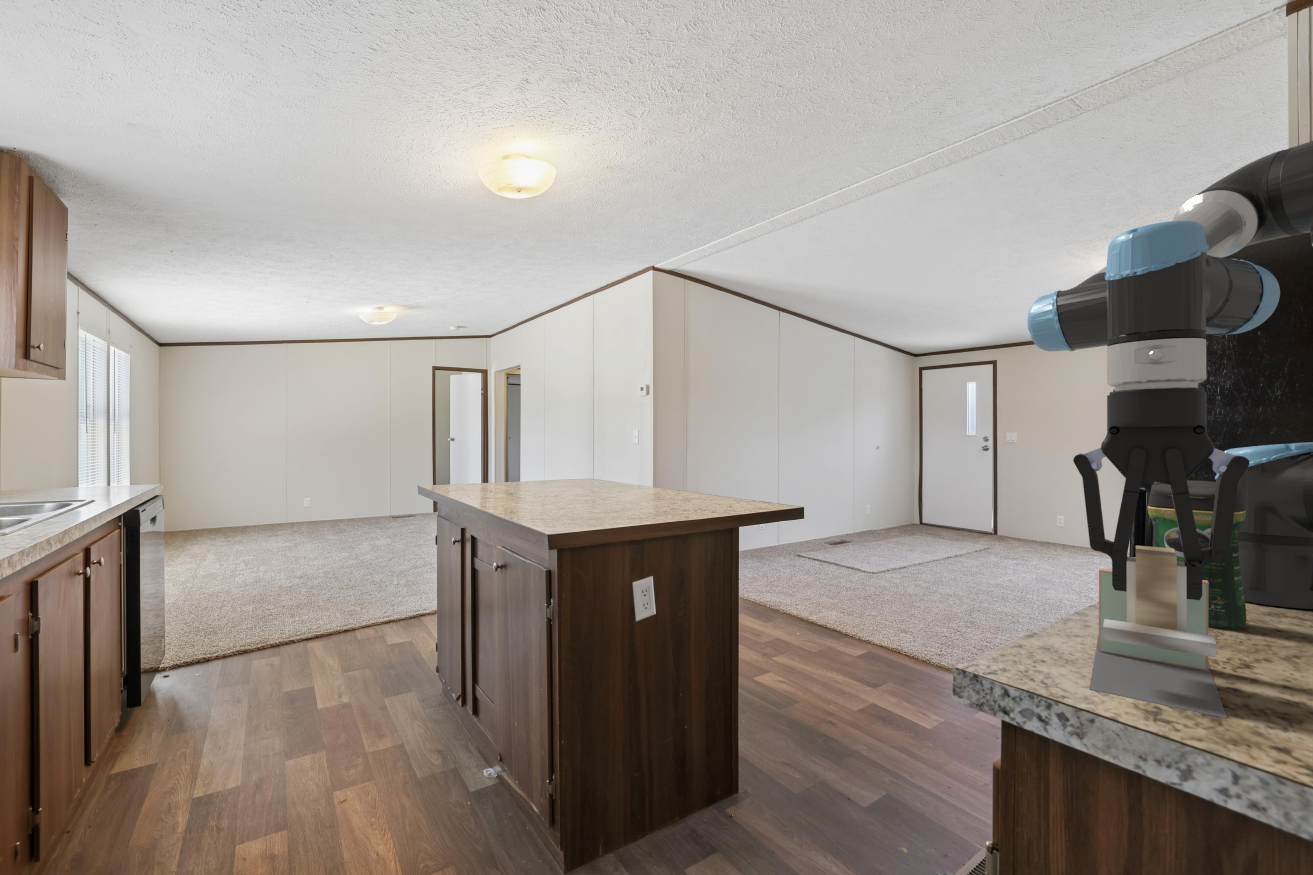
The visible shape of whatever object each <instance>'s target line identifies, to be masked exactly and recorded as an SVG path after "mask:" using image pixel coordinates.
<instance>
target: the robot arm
mask: <svg viewBox="0 0 1313 875" xmlns="http://www.w3.org/2000/svg"><path fill="white" fill-rule="evenodd" d="M1309 233H1310V238H1311V239H1310V240H1311V246H1312V247H1313V140H1311V141H1308V142H1304V143H1302V144H1299V145H1295V146H1291V147H1290V148H1286V149H1281V150H1278V151H1275V152H1273V153H1270V154H1267V155H1265V156H1262V157H1259V158H1258V159H1256V160H1254V161H1251V162H1249V163H1248V164H1246V165H1243V166H1241V167H1239V168H1238V169H1236V170H1235V171H1233V172H1231V173H1229V174H1228V175H1226V176H1224V177H1222V178H1220V179H1219V180H1217V181H1216V182H1214V183H1212V184H1211V185H1209V186H1208V187H1206V188H1205V189H1202V190H1201V191H1200V192H1198V193H1197V194H1195V195H1194V196H1193V197H1191V198H1189V199H1188V200H1187V201H1185V203H1183V204H1182V205H1181V206H1180V208H1178V210H1177V211H1176V213H1175V214H1174V217H1173V219H1172V220H1170V221H1163V222H1162V221H1161V222H1156V223H1150V224H1146V225H1142V226H1138V227H1135V228H1132V229H1129V230H1126V231H1123V232H1122V233H1120V234H1118V235H1116V236H1115V237H1114V238H1112V240H1111V241H1110V242H1109V244H1108V248H1107V259H1106V265H1105V266H1104V267H1102V268H1101V269H1100V270H1098V271H1097V272H1095V273H1094V274H1093V275H1091V276H1089V278H1087V279H1085V280H1083V281H1082V282H1081V283H1079V284H1077V285H1076V286H1074V287H1072V288H1069V289H1066V290H1065V289H1064V290H1061V289H1059V290H1055V291H1054V292H1051V293H1049V294H1045V295H1041V296H1039V297H1038V298H1036V300H1034V301H1033V302H1032V303H1031V304H1032V305H1031V306H1030V307H1029V310H1028V314H1027V319H1026V320H1027V329H1028V332H1029V335H1030V339H1031V341H1032V342H1033V343H1034V345H1035V346H1036V347H1037V348H1039V349H1040V350H1042V351H1044V352H1062V351H1069V352H1075V351H1078V350H1083V349H1090V348H1091V349H1092V348H1098V347H1106V377H1107V378H1106V381H1107V382H1106V384H1107V385H1108V386H1110V387H1114V389H1112V391H1111V392H1109V395H1106V415H1107V416H1106V428H1107V429H1106V435H1105V438H1104V439H1103V441H1102V442H1101V444H1100V447H1098V448H1096V449H1093V450H1090V451H1088V452H1085V453H1078V454H1077V455H1074V457H1073V460H1072V461H1073V464H1074V466H1075V467H1076V469H1077V470H1078V472H1079V474H1080V476H1081V478H1082V479H1081V480H1082V486H1083V493H1084V494H1083V495H1084V504H1085V513H1086V521H1087V523H1086V524H1087V531H1088V539H1089V540H1088V542H1089V546H1090V549H1092V550H1094V551H1095V552H1100V553H1102V554H1105V555H1107V556H1108V557H1109V558H1110V560H1111V570H1112V586H1113V588H1114V590H1117V591H1125V592H1127V622H1129V623H1136V556H1135V557H1132V556H1128V553H1129V552H1128V551H1129V548H1130V542H1131V536H1132V531H1133V526H1134V522H1135V521H1134V520H1135V516H1136V511H1137V504H1138V501H1139V495H1140V491H1141V486H1142V484H1150V483H1156V482H1159V483H1163V484H1169V485H1170V490H1171V494H1172V499H1173V504H1174V509H1175V514H1176V519H1177V524H1178V529H1179V534H1180V539H1181V544H1182V549H1183V554H1184V562H1179V561H1177V630H1184V631H1187V599H1192V600H1200V599H1201V597H1202V569H1203V567H1204V566H1205V565H1206V564H1209V563H1214V562H1225V561H1227V560H1228V558H1229V553H1230V544H1231V536H1232V527H1233V519H1234V511H1235V502H1236V494H1237V486H1239V487H1240V489H1241V492H1242V496H1243V501H1244V505H1245V511H1246V517H1245V520H1244V522H1243V524H1242V525H1241V527H1240V530H1239V538H1238V546H1239V563H1240V571H1241V578H1242V585H1243V591H1244V598H1245V602H1247V603H1248V602H1249V603H1254V604H1261V605H1266V606H1272V607H1273V606H1275V607H1280V608H1281V607H1282V608H1291V609H1303V610H1304V609H1306V610H1313V441H1312V442H1294V443H1280V444H1279V443H1278V444H1266V445H1265V444H1263V445H1257V446H1256V445H1255V446H1244V447H1236V448H1229V449H1226V450H1220V449H1218V448H1216V447H1215V444H1214V442H1213V441H1212V440H1211V438H1210V437H1209V435H1208V430H1207V427H1208V426H1207V424H1208V422H1207V419H1208V418H1207V413H1208V410H1207V391H1205V390H1204V388H1201V387H1200V388H1199V384H1201V383H1203V382H1205V381H1206V380H1207V335H1211V336H1215V337H1216V336H1217V337H1219V336H1224V335H1237V334H1242V333H1245V332H1248V331H1251V330H1253V329H1256V328H1257V327H1259V326H1260V325H1262V324H1263V323H1264V322H1265V321H1267V320H1268V318H1270V317H1271V316H1272V315H1273V313H1274V312H1275V310H1276V308H1277V307H1278V305H1279V304H1278V303H1279V301H1280V298H1281V297H1280V296H1281V289H1280V285H1279V281H1278V280H1277V278H1276V276H1275V275H1273V273H1272V272H1270V270H1268V269H1266V268H1265V267H1263V266H1260V265H1257V264H1255V263H1253V262H1250V261H1248V260H1244V259H1240V260H1239V259H1237V258H1226V257H1229V256H1231V255H1234V254H1236V253H1238V252H1239V251H1240V250H1242V249H1243V248H1245V247H1249V246H1252V245H1255V244H1256V245H1257V244H1260V243H1264V242H1267V241H1268V242H1269V241H1273V240H1277V239H1283V238H1288V237H1293V236H1299V235H1302V234H1303V235H1304V234H1309ZM1105 457H1106V458H1107V459H1108V460H1109V461H1110V463H1111V465H1113V466H1114V467H1115V468H1116V469H1117V470H1118V472H1119V474H1121V475H1122V477H1124V478H1125V482H1124V487H1123V492H1122V497H1121V502H1120V508H1119V512H1118V519H1117V524H1116V529H1115V534H1114V539H1113V541H1112V540H1110V539H1107V538H1106V536H1105V526H1104V518H1103V510H1102V500H1101V492H1100V482H1099V476H1098V472H1099V471H1100V470H1102V467H1103V463H1102V461H1103V459H1104V458H1105ZM1208 459H1210V461H1211V462H1212V471H1213V472H1214V473H1216V475H1215V476H1214V480H1215V482H1217V484H1216V492H1215V501H1214V509H1213V518H1212V526H1211V535H1210V543H1209V547H1207V548H1202V549H1200V545H1199V540H1198V535H1197V530H1196V525H1195V520H1194V516H1193V511H1192V506H1191V501H1190V496H1189V490H1188V485H1187V480H1189V478H1190V477H1191V476H1192V475H1193V474H1194V473H1195V472H1196V471H1197V470H1198V469H1199V468H1200V467H1201V466H1202V465H1203V464H1204V463H1205V462H1206V461H1207V460H1208Z"/></svg>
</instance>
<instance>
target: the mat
mask: <svg viewBox="0 0 1313 875" xmlns="http://www.w3.org/2000/svg"><path fill="white" fill-rule="evenodd" d="M1098 650H1099V634H1098V636H1097V642H1096V647H1095V652H1094V654H1095V655H1094V659H1093V666H1092V672H1091V675H1090V682H1089V683H1090V684H1089V688H1088V689H1089V690H1090V691H1095V692H1100V693H1105V694H1109V695H1113V696H1118V697H1124V698H1128V699H1133V700H1138V701H1141V702H1142V701H1143V702H1148V703H1152V704H1156V705H1161V706H1167V707H1170V708H1175V709H1180V710H1184V711H1190V712H1194V713H1198V714H1204V715H1207V716H1208V715H1209V716H1213V717H1217V718H1222V719H1228V717H1227V715H1226V712H1225V709H1224V706H1223V702H1222V699H1221V697H1220V693H1219V690H1218V688H1217V685H1216V682H1215V680H1214V679H1215V678H1214V676H1213V674H1212V671H1211V668H1210V665H1209V664H1210V663H1208V671H1204V670H1198V669H1192V668H1187V667H1181V666H1176V665H1170V664H1164V663H1159V662H1153V661H1148V660H1142V659H1137V658H1131V657H1125V656H1120V655H1114V654H1109V653H1103V652H1098Z"/></svg>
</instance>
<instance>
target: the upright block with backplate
mask: <svg viewBox="0 0 1313 875" xmlns="http://www.w3.org/2000/svg"><path fill="white" fill-rule="evenodd" d="M1135 558H1136V623H1129V622H1122V621H1115V620H1108V619H1104V624H1103V639H1104V640H1110V641H1117V642H1123V643H1129V644H1135V645H1142V646H1148V647H1154V648H1160V649H1166V650H1173V651H1179V652H1185V653H1191V654H1197V655H1204V656H1208V657H1211V658H1217V643H1216V639H1215V637H1214V635H1213V634H1212V633H1208V634H1205V633H1198V632H1191V631H1184V630H1177V557H1176V554H1175V551H1174V549H1173V548H1161V547H1154V546H1149V545H1147V546H1146V545H1135Z"/></svg>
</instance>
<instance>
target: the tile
mask: <svg viewBox="0 0 1313 875" xmlns="http://www.w3.org/2000/svg"><path fill="white" fill-rule="evenodd" d="M1208 597H1209V582H1208V581H1207V580H1202V597H1201V599H1200V600H1192V599H1187V631H1191V632H1198V633H1205V634H1209V627H1208ZM1104 619H1108V620H1115V621H1122V622H1127V592H1125V591H1117V590H1114V588H1113V586H1112V569H1107V568H1099V569H1098V635H1099V650H1098V652H1103V653H1109V654H1114V655H1120V656H1125V657H1131V658H1137V659H1142V660H1148V661H1153V662H1159V663H1164V664H1170V665H1176V666H1181V667H1187V668H1192V669H1198V670H1204V671H1208V664H1209V656H1204V655H1197V654H1191V653H1185V652H1179V651H1173V650H1166V649H1160V648H1154V647H1148V646H1142V645H1135V644H1129V643H1123V642H1117V641H1110V640H1104V639H1103V624H1104Z"/></svg>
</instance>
